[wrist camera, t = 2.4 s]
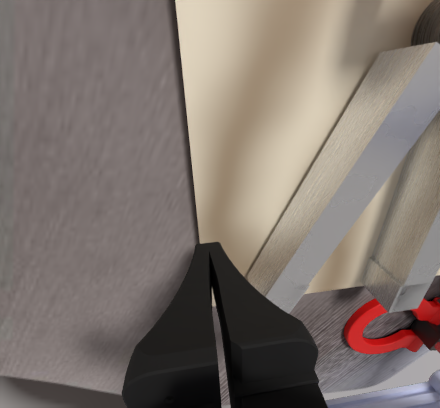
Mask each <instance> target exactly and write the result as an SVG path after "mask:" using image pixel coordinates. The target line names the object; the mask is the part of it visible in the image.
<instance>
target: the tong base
mask: <svg viewBox="0 0 440 408" xmlns="http://www.w3.org/2000/svg"><path fill="white" fill-rule="evenodd" d="M433 42H437V43H439V44H440V0H434V1H432V2H431V3H430V4H429V5H428V6H427V7H426V9H425V10H424V11H423V13H422V14H421V16H420V17H419V19H418V21H417V23H416V25H415V27H414V30H413V34H412V38H411V46H416V45H422V44H427V43H433ZM439 268H440V110H439V111H438V113H437V114H436V115H435V117H434V118H433V119H432V121H431V122H430V123H429V125H428V126H427V127H426V129H425V130H424V131H423V133H422V134H421V135H420V137H419V138H418V139H417V141H416V142H415V143H414V145H413V146H412V147H411V149H410V150H409V151H408V154H407V156H406V159H405V162H404V165H403V168H402V171H401V174H400V176H399V179H398V182H397V185H396V188H395V191H394V194H393V197H392V199H391V202H390V205H389V208H388V211H387V214H386V217H385V220H384V222H383V225H382V228H381V231H380V234H379V237H378V240H377V243H376V245H375V248H374V251H373V254H372V257H369V259H368V262H367V265H366V268H365V270H364V273H363V276H362V279H361V283H362V284H363V285H364V286H365V287H366V288H367V290H368V291H369V292H370V293H371V294H372V295H373V296H374V297H375V299H376V300H377V301H378V302H379V303H380V304H381V305H382V306H383V307H384V309H385V310H386V311H387V312H388V313H391V312H398V311H404V310H411V309H418V307H419V305H420V303H421V301H422V300H423V298H424V296H425V294H426V292H427V290H428V289H429V287H430V285H431V283H432V281H433V279H434V277H435V276H436V274H437V272H438V270H439Z"/></svg>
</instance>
